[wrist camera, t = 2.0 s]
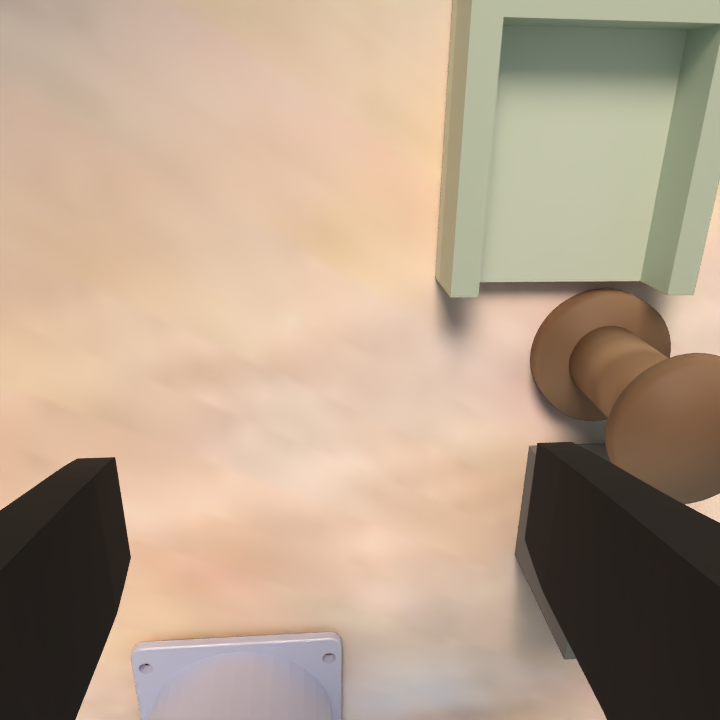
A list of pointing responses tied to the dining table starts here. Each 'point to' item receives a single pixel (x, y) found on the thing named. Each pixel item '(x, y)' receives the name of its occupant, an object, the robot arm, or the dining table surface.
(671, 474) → the brown wooden knob
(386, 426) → the dining table surface
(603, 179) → the notch board
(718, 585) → the robot arm
